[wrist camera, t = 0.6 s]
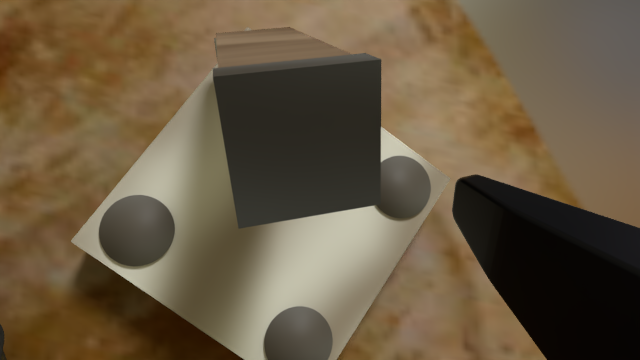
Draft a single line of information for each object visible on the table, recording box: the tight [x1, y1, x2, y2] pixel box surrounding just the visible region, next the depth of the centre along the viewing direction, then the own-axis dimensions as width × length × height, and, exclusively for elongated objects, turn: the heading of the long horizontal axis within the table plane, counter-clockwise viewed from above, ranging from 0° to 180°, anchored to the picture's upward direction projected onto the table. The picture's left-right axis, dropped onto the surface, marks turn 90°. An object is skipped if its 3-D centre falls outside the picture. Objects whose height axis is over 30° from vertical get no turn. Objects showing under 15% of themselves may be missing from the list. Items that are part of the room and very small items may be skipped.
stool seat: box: [71, 27, 450, 360], centre depth 21 cm, size 13×13×3 cm
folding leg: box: [213, 27, 381, 229], centre depth 14 cm, size 3×3×12 cm
